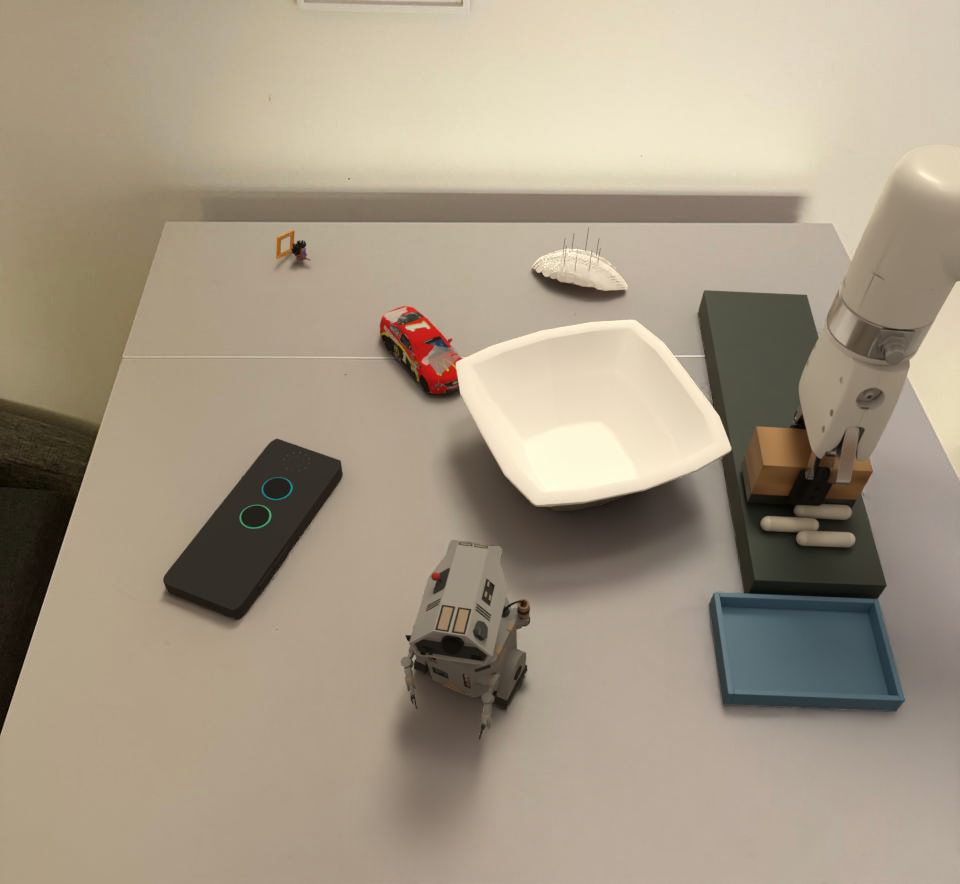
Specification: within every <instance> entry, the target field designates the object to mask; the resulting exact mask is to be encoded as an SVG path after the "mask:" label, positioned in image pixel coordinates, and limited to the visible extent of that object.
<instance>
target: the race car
mask: <svg viewBox="0 0 960 884" xmlns="http://www.w3.org/2000/svg"><path fill="white" fill-rule="evenodd" d="M379 330H380V331H379V334H380V335H379V336H380V339H381V341H382V343H384V346H385V348H386V350H387V351H388V352H389V353H392V354H393V356H394V357H395V358H396V359H397V360H398V361H399V362H400V363H401V364H402V366H403V367H404V368H405V369H406V370H407V371H408V372H409V373H410V375H412V377H413V378H414V379H415V380H416V381H417V382H418V383H420V386H421V388H422V390H423V391H424V392H425V393H427V394H428V393H431V394H434V395H435V394H436V395H444V394H445V395H447V394H450V393H453V392H456V391H458V390H460V388H459V382H458V376H457V370H456V362H457V361H459V360H461V359H463V358H462V357H461V355H459V353H458V352H457V350H456V349H455V348H454V347H453V346H452V345H451V343H452V342H453V338H452V337H451V338H446V337H445V336H444V335H443V333H442V332H441V331H440V330H439V329H438V328H437V327H436V326H435V324H433V323H432V322H431V321H430V320H429V319H428V318H427V317H426V316H425V315H424V314H422V313H421V312H420V311H418V309H416V308H415V307H412V306H408V305H403V306H399V307H396V308H394V309H391V310H389V311H387V312H385V313H384V314H383V315H382V316H381V318H380V323H379Z"/></svg>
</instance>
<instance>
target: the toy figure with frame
mask: <svg viewBox="0 0 960 884" xmlns="http://www.w3.org/2000/svg"><path fill="white" fill-rule="evenodd" d="M295 233H296V232H295V229H292V230H290V231H287V232H285V233H283V234H281V235H278V236H276V250H275V251H276V252H275V253H276V254H275V259H276V260H279V259H281V258H283V257H285V256H287V255H289V254H292V255H294V256H295V259H296V261H297V262H298V263H304V261H305V260H307V261H311V259H310V258H307V256H308V253H307V242H306V241H305V240H303V239H299V240H297V241H296V242H295ZM287 238H289V248H288V249H286V250H283V251H281V250H282V249H281V248H282V241H283V240H285V239H287Z"/></svg>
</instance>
